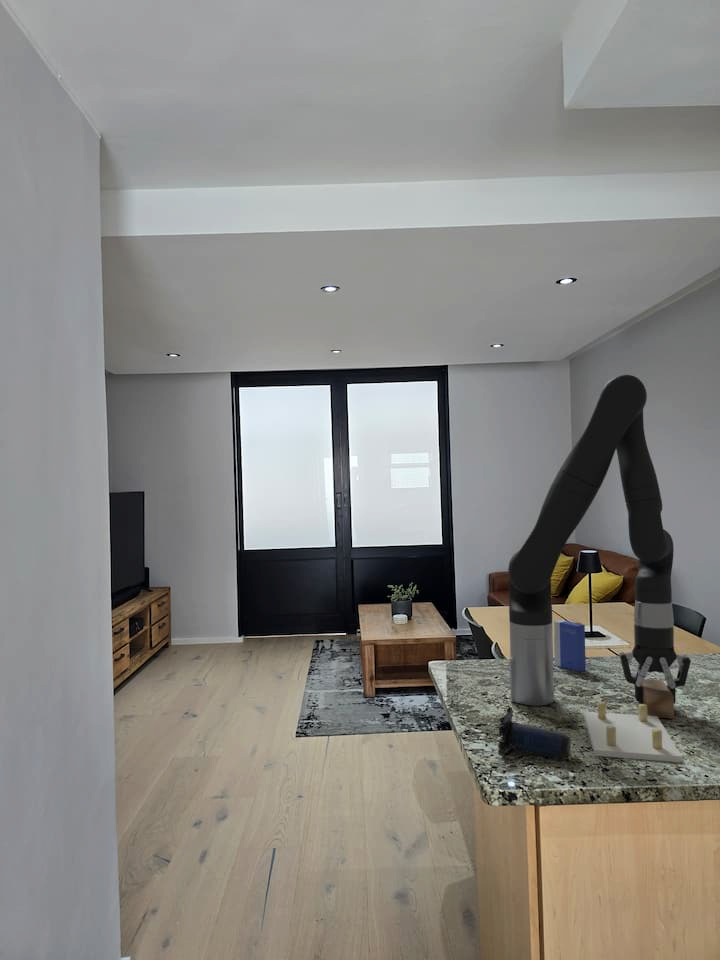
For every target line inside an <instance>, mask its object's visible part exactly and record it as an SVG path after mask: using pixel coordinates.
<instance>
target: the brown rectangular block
mask: <svg viewBox="0 0 720 960" xmlns="http://www.w3.org/2000/svg"><path fill="white" fill-rule="evenodd" d="M642 686H643V704H645V705H647V716H658V718H659V719H660V718H661V719H675V704H674V696H673V694H672V693H671V692H670V690H669V689H668V688H667V686H668V685H666V683H665V682H664V681H663V680H662V679H661V680H660V679H648V678H647V679H645V678H644V681H643V683H642Z"/></svg>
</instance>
